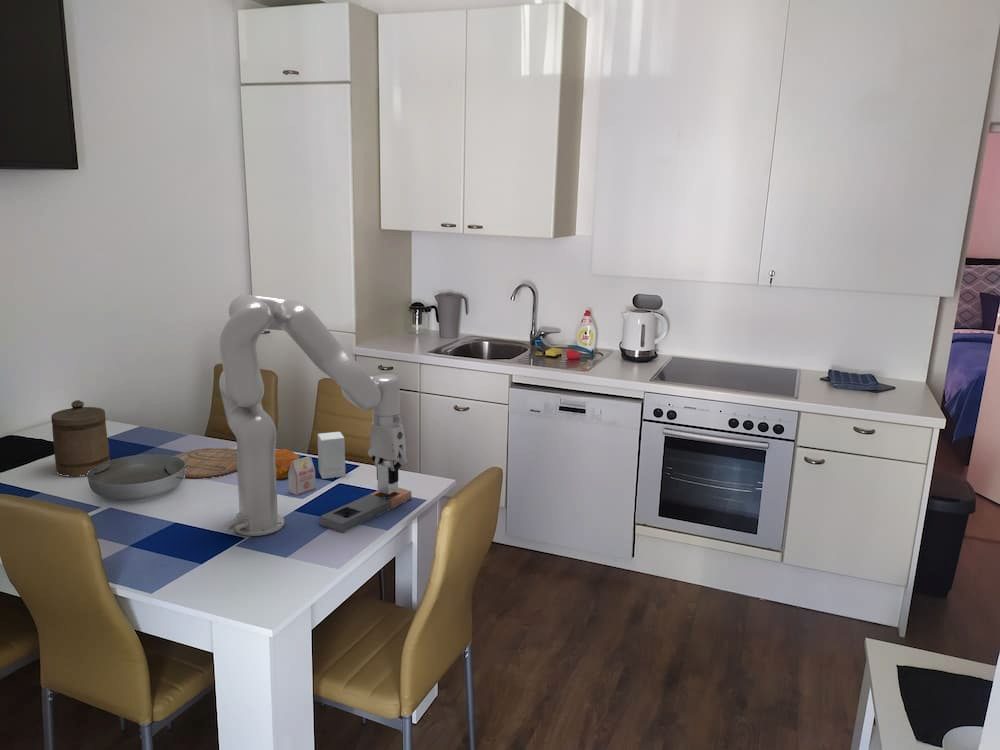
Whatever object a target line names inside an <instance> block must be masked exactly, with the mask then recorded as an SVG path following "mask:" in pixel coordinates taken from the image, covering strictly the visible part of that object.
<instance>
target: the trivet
mask: <svg viewBox="0 0 1000 750" xmlns="http://www.w3.org/2000/svg"><path fill="white" fill-rule="evenodd" d="M172 457H177V458H180V459H181V460H183V461H184V463H185V466H186V471H185V478H186V480H203V478H208V479H213V478H212V477H215V478H220V477H219V476H221V477H225V476H224V475H226V476H228V475H227V474H230V475H232V474H231V473H233V474H234V472H235V473H237V448H236V449H235V448H228V447H210V448H208V447H207V448H199V449H194V450H193V449H192V450H189V451H184V452H181V453H178V454H176V455H173V456H172ZM185 478H184V479H185Z"/></svg>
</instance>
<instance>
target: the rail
mask: <svg viewBox="0 0 1000 750" xmlns="http://www.w3.org/2000/svg"><path fill="white" fill-rule="evenodd" d="M384 497H386V498H384ZM387 497H390V498H387ZM410 498H411V499H412V490H409V489H405V488H402V487H399V486H398V490H397V491H395V492H393V493H391V494H385V493H382V492H379V491H378V490H376V491H374V492H372V493H368V494H367V495H364V496H362V497H360V498H358V499H355V500H353V501H351V502H348V503H347V504H345V505H342V506H340V507H337V508H335V509H333V510H331V511H329V512H326V513H324V514H322V515H320V516H319V526H321V527H324V528H328V529H330V530H333V531H335V532H338V533H341V532H342V533H345V532H346V530H347V531H348V529H349V530H350V528H351V529H353V528H355V527H357V526H359V525H361V524H363V523H365V522H367V521H369V520H368V519H370V518H372V517H374V516H376V515H378V514H380V513H382V514H384V513H386V512H388V511H389V510H388V509H390V510H392V509H394V508H395V507H394V506H396V505H398V504H400V503H402V502H404V501H406V500H408V499H410ZM393 507H394V508H393ZM391 508H392V509H391ZM387 510H388V511H387ZM385 511H386V512H385ZM383 512H384V513H383ZM346 515H349V516H348V518H346ZM380 515H381V514H380ZM344 516H345V517H344ZM350 516H351V517H350ZM378 516H379V515H378ZM376 517H377V516H376ZM374 518H375V517H374ZM372 519H373V518H372ZM366 520H367V521H366ZM370 520H371V519H370ZM364 521H365V522H364ZM362 522H363V523H362ZM360 523H361V524H360ZM358 524H359V525H358ZM356 525H357V526H356ZM354 526H355V527H354ZM352 527H353V528H352ZM344 531H345V532H344Z"/></svg>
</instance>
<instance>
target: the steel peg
mask: <svg viewBox="0 0 1000 750" xmlns="http://www.w3.org/2000/svg"><path fill="white" fill-rule="evenodd" d="M394 465H395V462H394ZM377 467H378V480H377V491H379V492H382V493H385V494H391V493H393V492H395V491H397V490H398V487H399V484H398V483H399V481H398V482H396V483H393V484H390V482H389V471H390V470H391V468H390V462H389V460H386V461H385V460H384V462H383V463H380V464H378V465H377ZM377 467H376V468H377Z"/></svg>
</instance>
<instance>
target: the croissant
mask: <svg viewBox="0 0 1000 750" xmlns="http://www.w3.org/2000/svg"><path fill="white" fill-rule="evenodd" d="M297 459H301V458H300V456H299V455H298V454H296V453H295V452H294V451H293V450H289V449H287V448H278V449H276V448H275V465H276V479H278V480H283V479H284V478H285V479H288V472H289V469H290V466H291V461H294V460H297ZM285 479H284V480H285Z"/></svg>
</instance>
